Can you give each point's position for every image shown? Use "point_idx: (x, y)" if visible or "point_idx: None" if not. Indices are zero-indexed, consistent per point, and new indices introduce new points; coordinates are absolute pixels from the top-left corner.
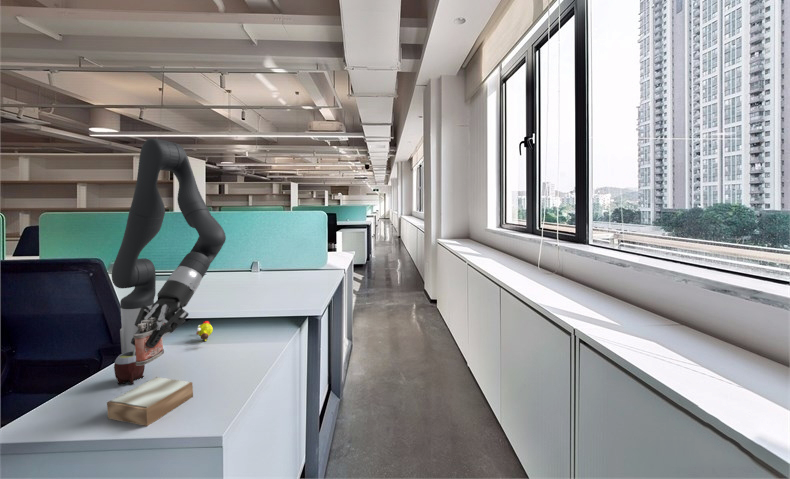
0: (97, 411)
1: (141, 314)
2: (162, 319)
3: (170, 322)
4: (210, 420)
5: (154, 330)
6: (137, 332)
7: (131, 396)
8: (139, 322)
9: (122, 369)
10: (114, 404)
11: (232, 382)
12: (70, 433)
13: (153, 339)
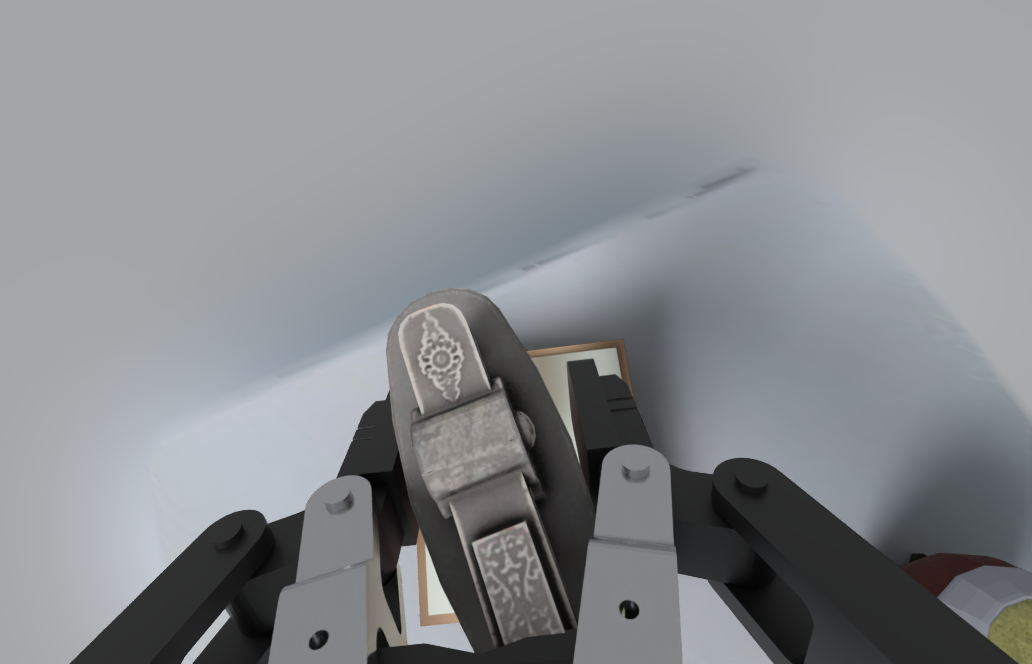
0: (708, 369)
1: (878, 625)
2: (286, 600)
3: (143, 601)
4: (234, 490)
5: (410, 490)
6: (515, 355)
7: (564, 401)
8: (726, 503)
9: (926, 565)
10: (580, 345)
11: None
12: (632, 260)
13: (370, 427)
